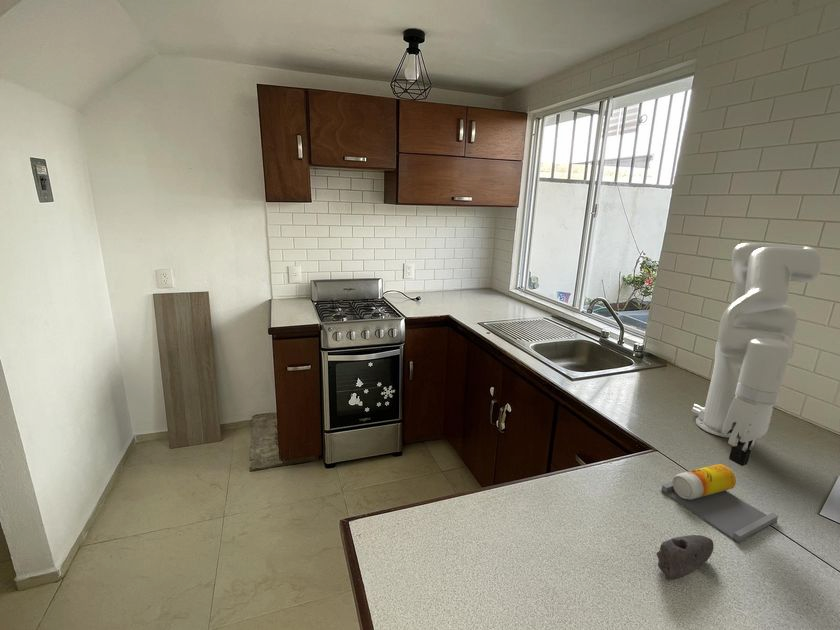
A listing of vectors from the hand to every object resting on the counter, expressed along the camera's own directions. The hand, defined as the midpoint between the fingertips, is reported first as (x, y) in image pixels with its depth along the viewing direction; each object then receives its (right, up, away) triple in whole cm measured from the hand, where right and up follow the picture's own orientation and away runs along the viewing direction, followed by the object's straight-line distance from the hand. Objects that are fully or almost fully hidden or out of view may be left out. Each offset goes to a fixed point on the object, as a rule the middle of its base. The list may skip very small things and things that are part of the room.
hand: (737, 461), depth 100 cm
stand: (-4, -11, +1) cm, 12 cm away
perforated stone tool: (-23, -16, -16) cm, 32 cm away
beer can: (+3, -6, +7) cm, 10 cm away
